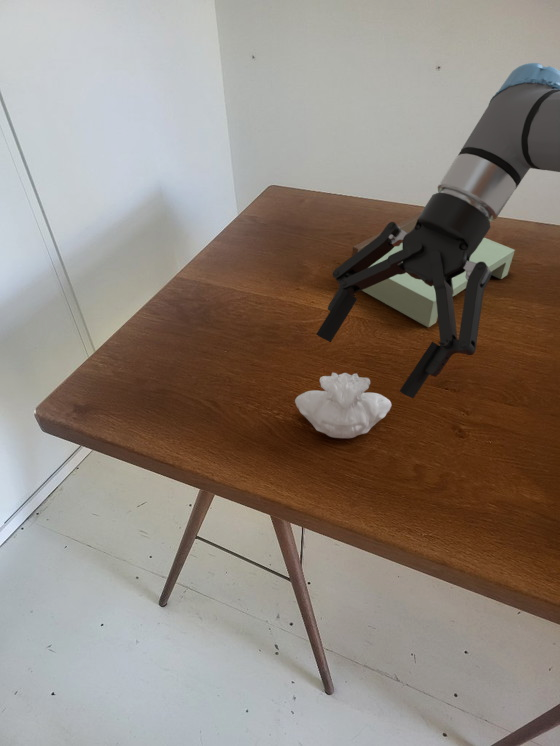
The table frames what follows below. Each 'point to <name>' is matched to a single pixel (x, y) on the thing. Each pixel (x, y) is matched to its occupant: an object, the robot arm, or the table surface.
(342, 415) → the bust
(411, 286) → the shoe shelf
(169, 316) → the table surface
